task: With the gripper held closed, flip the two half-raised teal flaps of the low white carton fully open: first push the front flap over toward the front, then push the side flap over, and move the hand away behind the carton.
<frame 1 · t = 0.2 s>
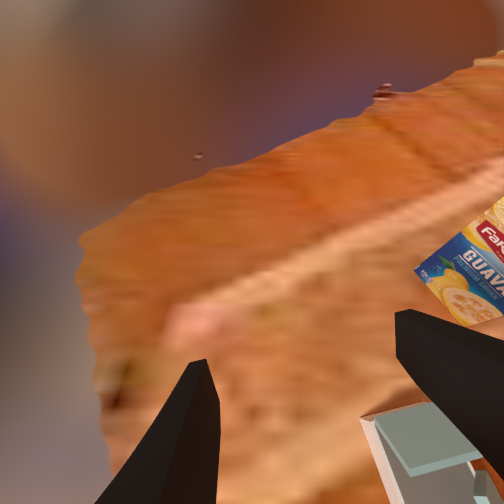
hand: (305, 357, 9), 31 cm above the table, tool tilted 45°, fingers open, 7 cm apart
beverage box: (452, 288, 40), on the table
side flap: (427, 433, 26), point 7 cm above the table, hinge at 50.0°
carton: (414, 465, 30), on the table
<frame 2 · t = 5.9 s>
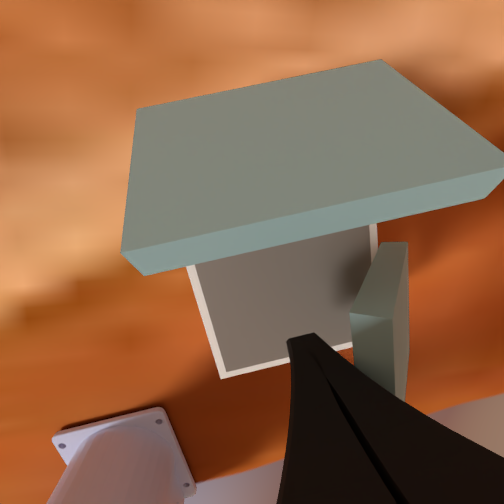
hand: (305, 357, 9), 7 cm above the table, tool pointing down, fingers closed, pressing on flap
side flap: (285, 147, 7), point 7 cm above the table, hinge at 50.0°
carton: (270, 236, 15), on the table
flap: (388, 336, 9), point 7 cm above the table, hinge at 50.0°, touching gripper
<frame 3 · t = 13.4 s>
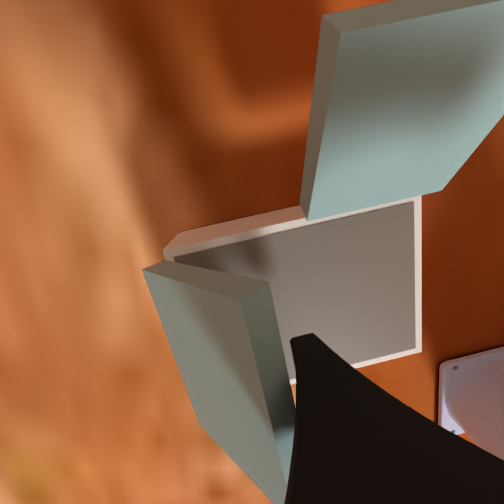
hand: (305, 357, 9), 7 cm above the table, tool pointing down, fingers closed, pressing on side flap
side flap: (222, 377, 9), point 7 cm above the table, hinge at 50.0°, touching gripper
carton: (288, 277, 16), on the table
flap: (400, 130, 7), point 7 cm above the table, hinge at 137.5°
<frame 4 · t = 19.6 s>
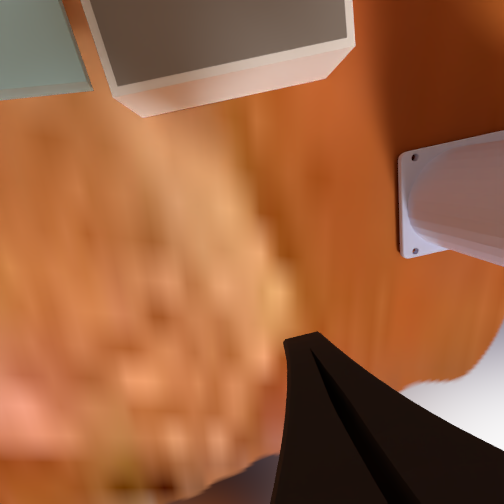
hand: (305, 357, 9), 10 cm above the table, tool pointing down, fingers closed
carton: (217, 12, 14), on the table
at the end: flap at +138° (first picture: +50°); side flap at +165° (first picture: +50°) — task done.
